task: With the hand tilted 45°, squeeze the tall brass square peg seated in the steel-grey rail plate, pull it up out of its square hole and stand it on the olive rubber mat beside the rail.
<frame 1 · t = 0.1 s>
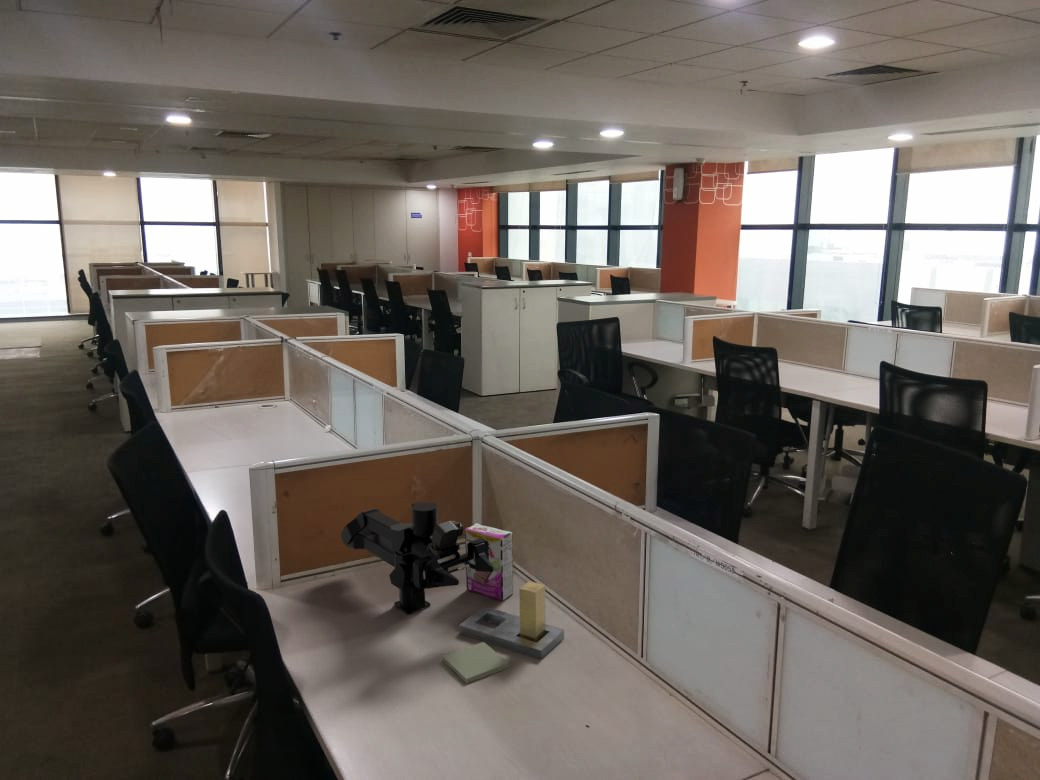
hand: (475, 575, 162), 17 cm above the table, tool horizontal, fingers open, 9 cm apart
olive rubber mat: (475, 663, 159), on the table
candy bar box: (489, 593, 190), on the table
steel rail plate: (532, 642, 167), on the table
brass peg: (532, 614, 166), in the steel rail plate
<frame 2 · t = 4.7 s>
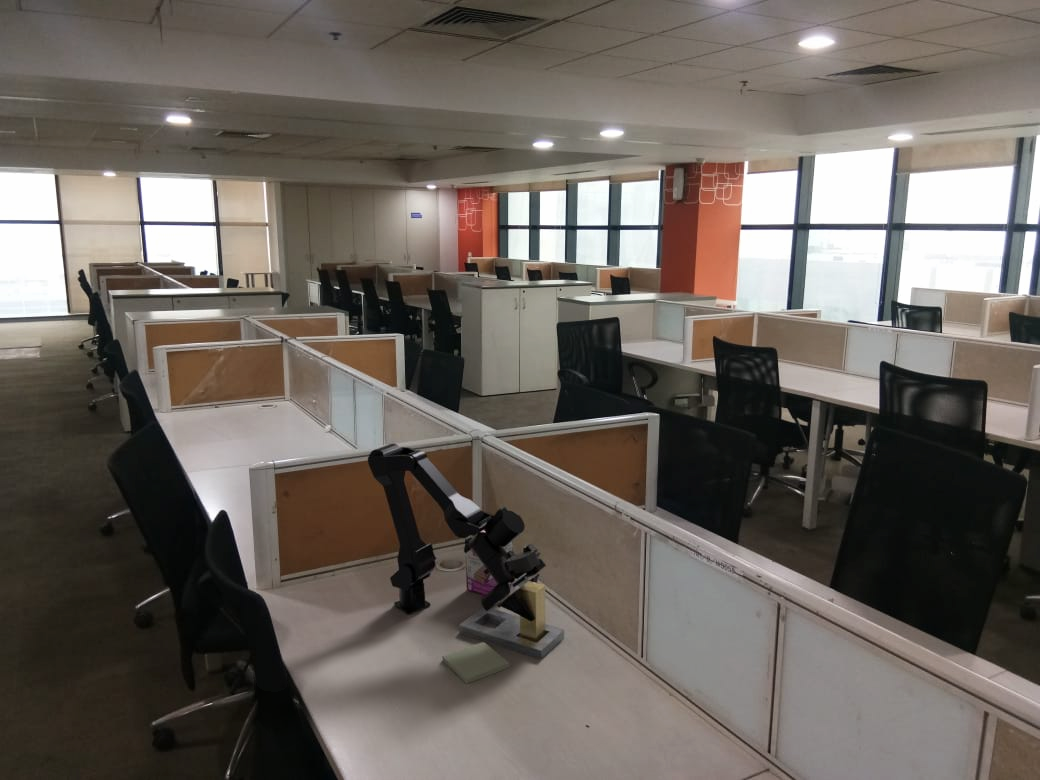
hand: (538, 615, 165), 7 cm above the table, tool tilted 45°, fingers closed on brass peg, 4 cm apart
brass peg: (532, 614, 166), in the steel rail plate, touching gripper
everything else where it was.
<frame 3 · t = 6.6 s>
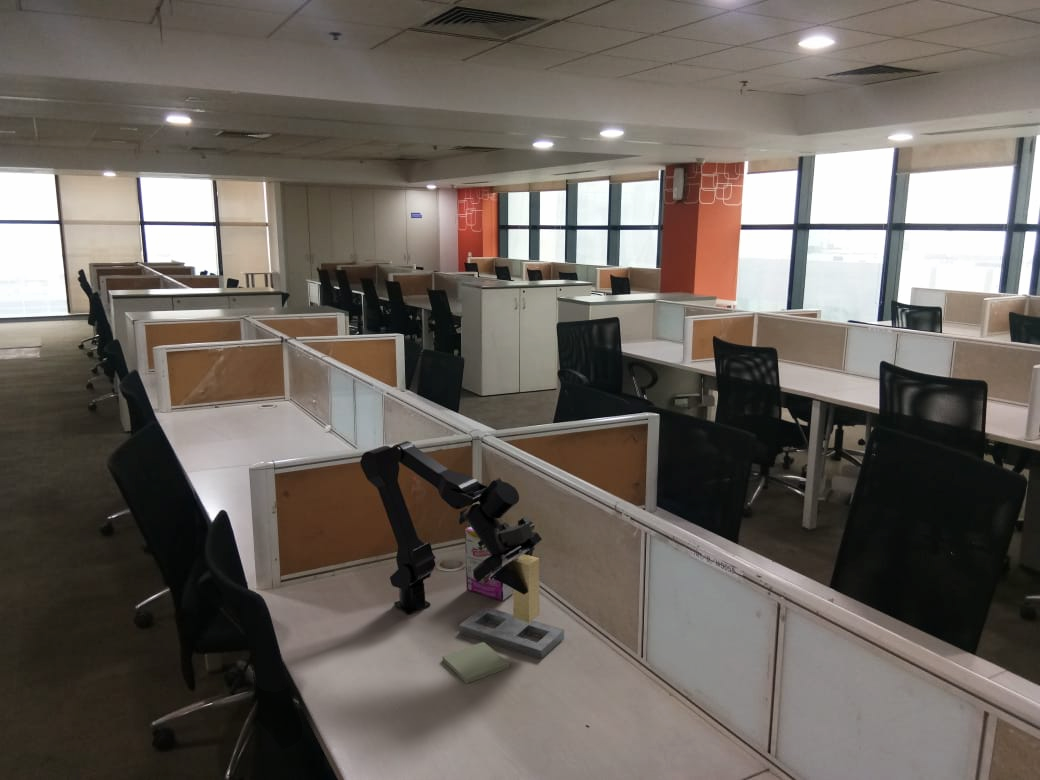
hand: (531, 589, 163), 13 cm above the table, tool tilted 45°, fingers closed on brass peg, 4 cm apart
brass peg: (526, 588, 163), point 13 cm above the table, touching gripper
everything else where it was.
when the fingers open (9 cm above the table, at t = 9.0 s): brass peg drops 1 cm, resting on olive rubber mat.
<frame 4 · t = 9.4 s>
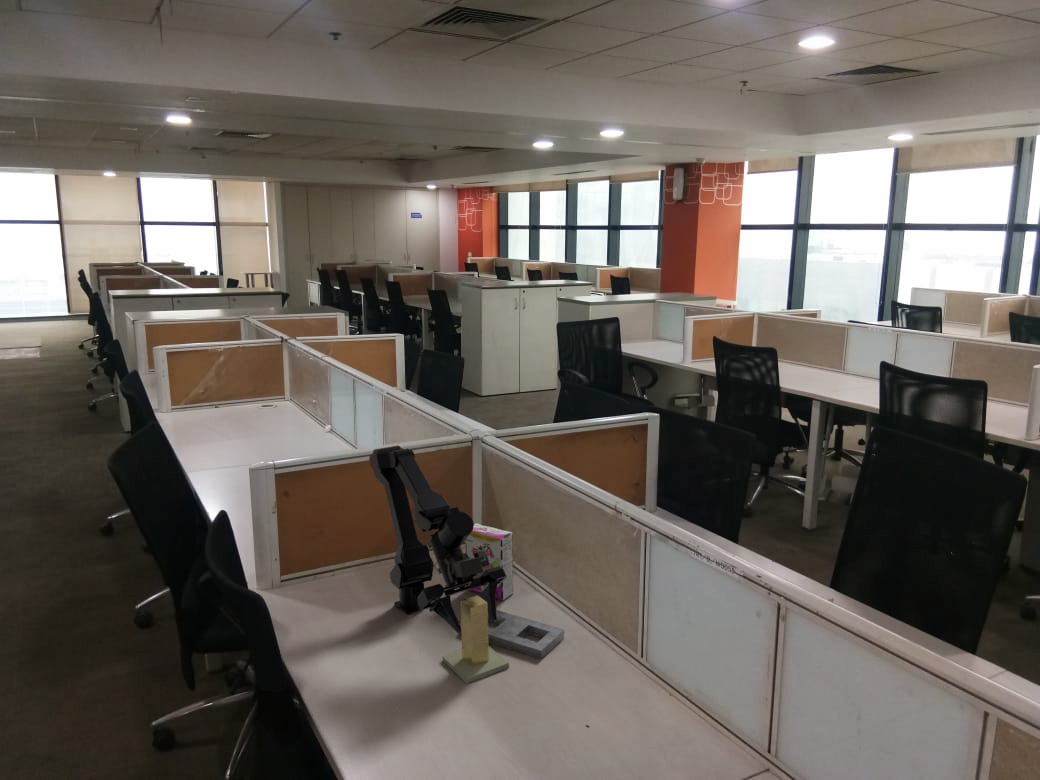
hand: (477, 626, 156), 9 cm above the table, tool tilted 45°, fingers open, 8 cm apart
brass peg: (474, 630, 158), on the olive rubber mat, point 8 cm above the table
everything else where it was.
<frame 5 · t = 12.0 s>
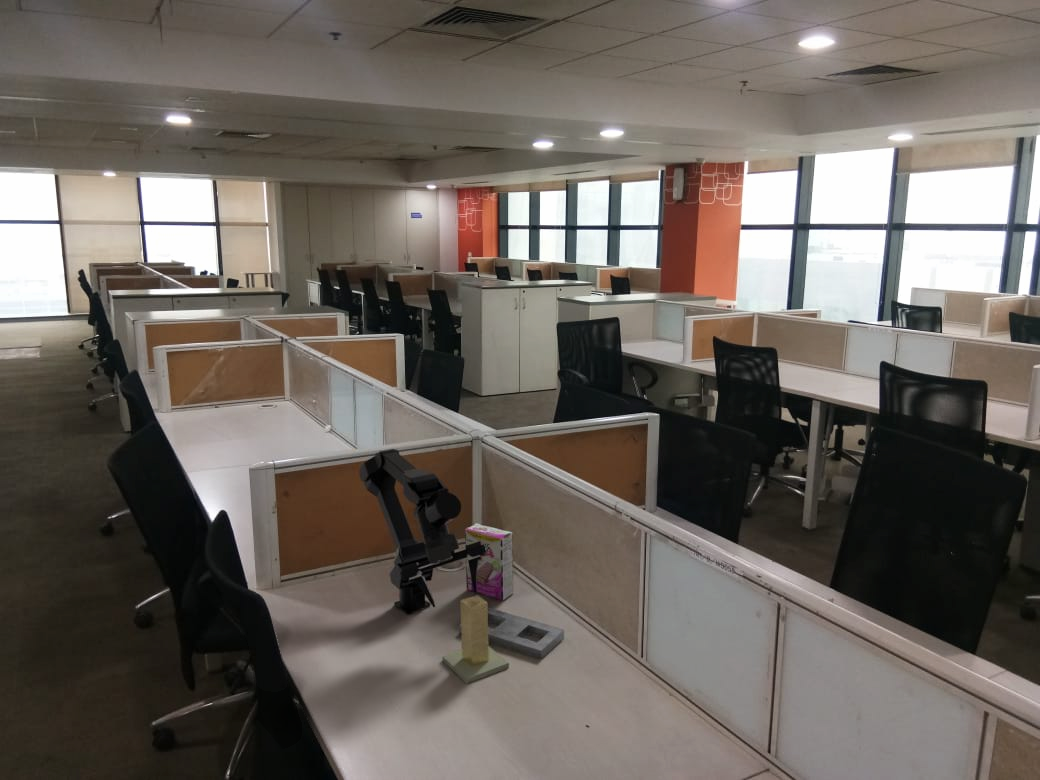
hand: (455, 600, 165), 10 cm above the table, tool tilted 30°, fingers open, 9 cm apart
nothing on the table moved.
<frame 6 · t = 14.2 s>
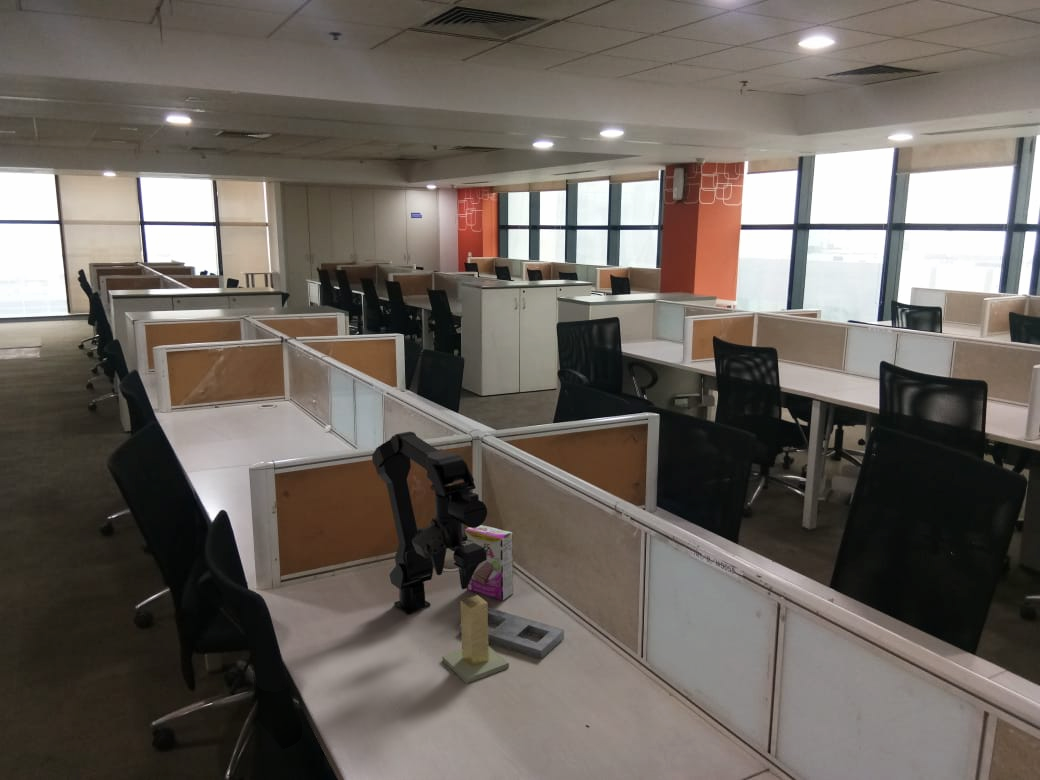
hand: (451, 581, 167), 13 cm above the table, tool pointing down, fingers open, 9 cm apart
nothing on the table moved.
at the end: brass peg inside the target area on the olive rubber mat (0.0 cm from its centre), point 7.5 cm above the olive rubber mat's base; brass peg tilted 0°; the gripper is holding nothing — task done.
